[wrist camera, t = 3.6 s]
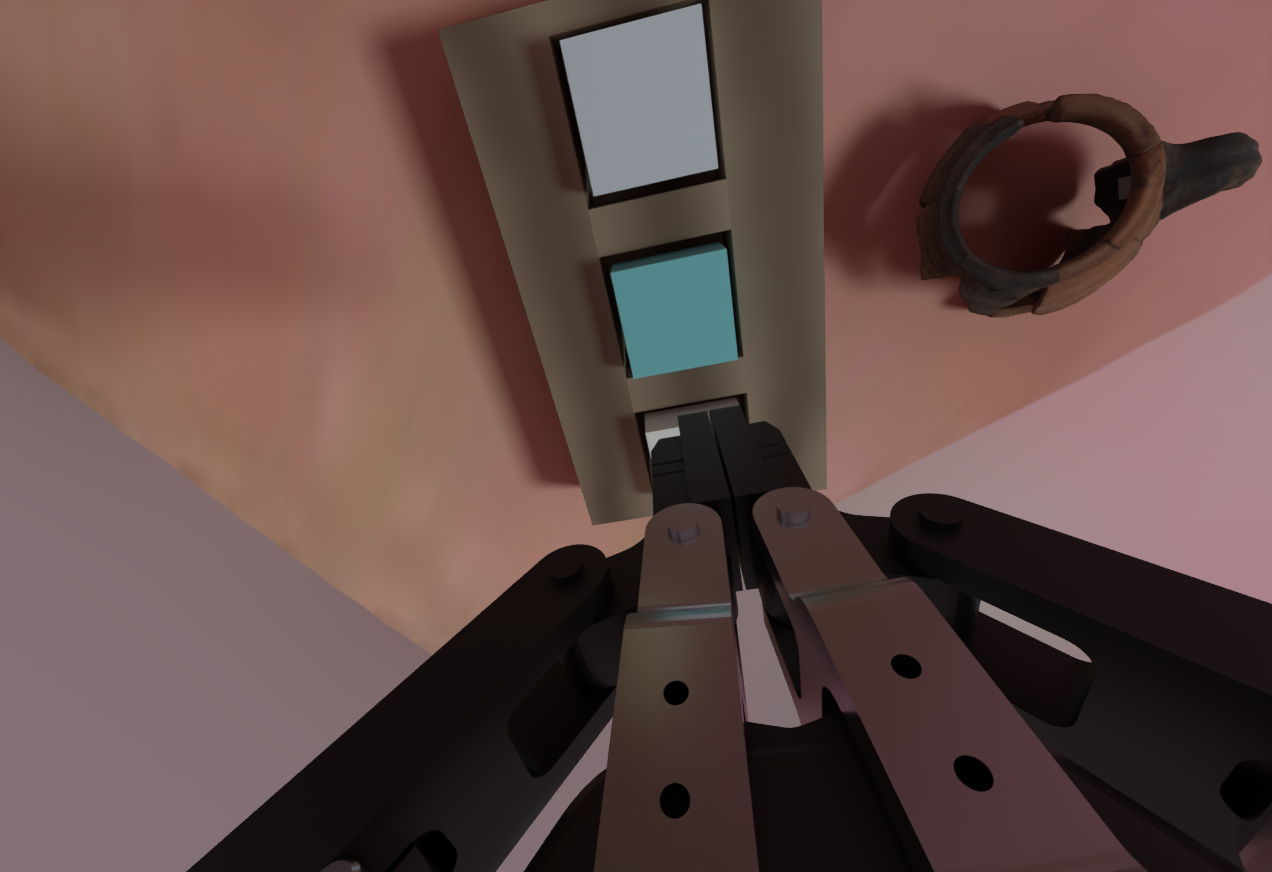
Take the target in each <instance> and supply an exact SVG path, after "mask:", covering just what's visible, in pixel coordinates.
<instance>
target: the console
mask: <svg viewBox="0 0 1272 872" xmlns="http://www.w3.org/2000/svg"><path fill="white" fill-rule="evenodd" d="M697 4H701V5H702V15H703V24H704V34H705V44H706V53H707V63H708V73H709V83H710V92H711V102H712V112H713V121H714V131H715V141H716V150H717V160H718V168H717V169H713V170H709V171H704V172H700V173H695V174H691V175H687V176H682V177H678V178H673V179H669V180H665V181H660V182H656V183H651V184H647V185H642V186H638V187H634V188H629V189H625V190H620V191H616V192H612V193H607V194H603V195H598V196H593V191H592V187H591V182H590V177H589V173H588V168H587V164H586V159H585V155H584V150H583V145H582V141H581V136H580V132H579V127H578V123H577V118H576V113H575V109H574V104H573V100H572V95H571V91H570V86H569V81H568V77H567V72H566V68H565V63H564V59H563V54H562V49H561V45H560V40H563V39H567V38H571V37H574V36H578V35H582V34H586V33H590V32H594V31H597V30H601V29H605V28H609V27H613V26H616V25H620V24H624V23H628V22H632V21H636V20H639V19H643V18H647V17H651V16H655V15H659V14H662V13H666V12H670V11H674V10H678V9H681V8H685V7H689V6H693V5H697ZM438 33H439V36H440V39H441V42H442V45H443V49H444V52H445V55H446V58H447V61H448V65H449V68H450V71H451V74H452V77H453V81H454V84H455V87H456V90H457V93H458V97H459V100H460V103H461V106H462V109H463V113H464V116H465V119H466V122H467V125H468V129H469V132H470V135H471V138H472V141H473V145H474V148H475V151H476V154H477V157H478V161H479V164H480V167H481V170H482V173H483V177H484V180H485V183H486V186H487V189H488V192H489V196H490V199H491V202H492V205H493V208H494V212H495V215H496V218H497V221H498V224H499V228H500V231H501V234H502V237H503V240H504V244H505V247H506V250H507V253H508V256H509V260H510V263H511V266H512V269H513V272H514V276H515V279H516V282H517V285H518V288H519V292H520V295H521V298H522V301H523V304H524V308H525V311H526V314H527V317H528V320H529V324H530V327H531V330H532V333H533V336H534V339H535V343H536V346H537V349H538V352H539V355H540V359H541V362H542V365H543V368H544V371H545V375H546V378H547V381H548V384H549V387H550V391H551V394H552V397H553V400H554V403H555V407H556V410H557V413H558V416H559V419H560V423H561V426H562V429H563V432H564V435H565V439H566V442H567V445H568V448H569V451H570V455H571V458H572V461H573V464H574V467H575V471H576V474H577V477H578V480H579V483H580V486H581V490H582V493H583V496H584V499H585V502H586V506H587V509H588V512H589V515H590V518H591V522H592V525H598V524H604V523H611V522H617V521H623V520H630V519H636V518H643V517H649V516H653V495H652V465H651V456H650V452H649V447H648V443H647V438H646V434H645V414H646V413H651V412H657V411H663V410H668V409H674V408H679V407H685V406H691V405H696V404H702V403H707V402H713V401H719V400H724V399H730V398H736V399H737V401H738V403H739V405H740V407H741V409H742V412H743V414H744V417H745V419H746V421H747V424H750V423H755V422H761V421H766V422H768V423H770V424H771V425H773V426H774V427H776V428H778V429H779V430H780V431H781V433H782V435H783V437H784V438H785V440H786V443H787V444H788V446H789V448H790V450H791V451H792V455H794V457H795V459H796V461H797V463H798V464H799V466H800V468H801V470H802V472H803V474H804V476H805V478H806V479H807V481H808V483H809V485H810V487H811V489H812V490H814V491H815V490H821V489H827V478H826V380H825V282H824V184H823V87H822V0H546V1H543V2H539V3H535V4H531V5H528V6H524V7H520V8H517V9H513V10H509V11H506V12H502V13H498V14H495V15H491V16H487V17H484V18H480V19H476V20H472V21H469V22H465V23H461V24H458V25H454V26H450V27H447V28H443V29H439V30H438ZM715 242H720V243H721V244H722V245H723V246H724V247H725V248H727V257H728V267H729V277H730V286H731V296H732V306H733V315H734V325H735V335H736V345H737V354H738V360H734V361H729V362H723V363H718V364H712V365H707V366H702V367H696V368H691V369H686V370H680V371H675V372H669V373H664V374H659V375H653V376H648V377H642V378H637V379H633V374H632V369H631V365H630V360H629V356H628V351H627V347H626V342H625V337H624V333H623V328H622V324H621V319H620V315H619V310H618V305H617V301H616V296H615V292H614V287H613V283H612V278H611V273H610V272H611V269H612V265H613V264H615V263H620V262H625V261H629V260H634V259H639V258H644V257H648V256H653V255H658V254H662V253H667V252H672V251H677V250H681V249H686V248H691V247H696V246H700V245H705V244H710V243H715Z"/></svg>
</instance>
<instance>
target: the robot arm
mask: <svg viewBox="0 0 1272 872" xmlns="http://www.w3.org/2000/svg"><path fill="white" fill-rule="evenodd" d="M709 416H710V420H709V417H708V413H707V411H702V412H696V413H690V414H685V415H679V416H677V417H678V424H679V431H680V436H674V437H668V438H662V439H659V440H658V442H657V443H656V445H655V446H654V448H653V449H652V451H651V465H652V495H653V517H652V518H651V519H650V521H649V522H648V524H647V526H646V530H645V537H644V538H643V539H642V540H641V541H640V542H639V543H637V544H636V545H634V546H633V547H631V548H629V549H627V550H625V551H623V552H620V553H618V554H615V555H613V556H610V557H608V558H606V557H605V555H604V554H603V553H602V552H601V551H600V550H599V549H597V548H595V547H593V546H590V545H581V544H577V545H570V546H566V547H563V548H560V549H557V550H555V551H553V552H551V553H550V554H548V555H547V556H545V557H544V558H543V559H541V560H540V561H539V562H538V563H537V564H536V565H535V566H534V567H532V568H531V569H530V570H529V571H528V572H527V573H526V574H524V575H523V576H522V577H521V578H520V579H519V580H518V581H516V582H515V583H514V584H513V585H512V586H511V587H510V588H508V589H507V590H506V591H505V592H504V593H503V594H502V595H501V596H499V597H498V598H497V599H496V600H495V601H494V602H493V603H491V604H490V605H489V606H488V607H487V608H486V609H485V610H483V611H482V612H481V613H480V614H479V615H478V616H477V617H475V618H474V619H473V620H472V621H471V622H470V623H469V624H468V625H466V626H465V627H464V628H463V629H462V630H461V631H460V632H458V633H457V634H456V635H455V636H454V637H453V638H452V639H450V640H449V641H448V642H447V643H446V644H445V645H444V646H442V647H441V648H440V649H439V650H438V651H437V652H436V653H435V654H433V655H432V656H431V657H430V658H429V659H428V660H427V661H425V663H423V664H422V665H421V666H420V667H419V668H418V669H416V670H415V671H414V672H413V673H412V674H411V675H410V676H408V677H407V678H406V679H405V680H404V681H403V682H402V683H400V684H399V685H398V686H397V687H396V688H395V689H394V690H393V691H391V692H390V693H389V694H388V695H387V696H386V697H384V698H383V699H382V700H381V701H380V702H379V703H378V704H377V705H375V706H374V707H373V708H372V709H371V710H370V711H369V712H367V713H366V714H365V715H364V716H363V717H362V718H361V719H359V720H358V721H357V722H356V723H355V724H354V725H353V726H352V727H351V728H349V729H348V730H347V731H346V732H345V733H344V734H342V735H341V736H340V737H339V738H338V739H337V740H336V741H334V742H333V743H332V744H331V745H330V746H329V747H328V748H327V749H325V750H324V751H323V752H322V753H321V754H320V755H318V756H317V757H316V758H315V759H314V760H313V761H312V762H311V763H309V764H308V765H307V766H306V767H305V768H304V769H303V770H302V771H300V772H299V773H298V774H297V775H296V776H295V777H293V778H292V779H291V780H290V781H289V782H288V783H287V784H285V785H284V786H283V787H282V788H281V789H280V790H279V791H278V792H276V793H275V794H274V795H273V796H272V797H271V798H270V799H268V800H267V801H266V802H265V803H264V804H263V805H262V806H260V807H259V808H258V809H257V810H256V811H255V812H254V813H252V814H251V815H250V816H249V817H248V818H247V819H246V820H245V821H243V822H242V823H241V824H240V825H239V826H238V827H237V828H235V829H234V830H233V831H232V832H231V833H230V834H229V835H227V836H226V837H225V838H224V839H223V840H222V841H221V842H219V843H218V844H217V845H216V846H215V847H214V848H213V849H212V850H210V851H209V852H208V853H207V854H206V855H205V856H204V857H202V858H201V859H200V860H199V861H198V862H197V863H196V864H194V865H193V866H192V867H191V868H190V869H189V870H188V871H186V872H496V871H497V869H498V868H499V867H500V865H501V864H502V863H503V861H504V860H505V858H506V857H507V856H508V854H509V853H510V852H511V851H512V849H513V848H514V847H515V845H516V844H517V843H518V841H519V840H520V839H521V837H522V836H523V835H524V833H525V832H526V831H527V829H528V828H529V826H530V825H531V824H532V823H533V821H534V820H535V819H536V818H537V816H538V815H539V814H540V812H541V811H542V810H543V808H544V807H545V806H546V804H547V803H548V802H549V800H550V799H551V798H552V796H553V795H554V794H555V792H556V791H557V790H558V788H559V787H560V786H561V784H562V783H563V782H564V780H565V779H566V778H567V776H568V775H569V774H570V772H571V771H572V770H573V768H574V767H575V766H576V765H577V763H578V762H579V760H580V759H581V758H582V757H583V755H584V754H585V753H586V751H587V750H588V749H589V747H590V746H591V745H592V743H593V742H594V741H595V739H596V738H597V737H598V735H599V734H600V733H601V731H602V730H603V729H604V727H605V726H606V725H607V723H608V722H609V721H610V719H611V718H612V717H613V721H612V728H611V736H610V744H609V753H608V761H607V768H606V769H605V770H604V771H602V772H601V773H600V774H598V775H597V776H596V777H595V778H594V779H593V780H592V781H591V782H590V783H589V784H588V785H586V786H585V787H584V788H583V790H582V791H581V792H580V793H579V794H578V795H577V797H576V798H575V799H574V800H573V801H572V802H571V804H570V805H569V806H568V808H567V809H566V810H565V812H564V813H563V815H562V816H561V818H560V819H559V820H558V822H557V823H556V825H555V826H554V828H553V829H552V831H551V832H550V834H549V835H548V836H547V838H546V839H545V841H544V843H543V844H542V845H541V847H540V848H539V850H538V851H537V853H536V854H535V856H534V857H533V859H532V860H531V862H530V863H529V865H528V866H527V868H526V869H525V871H524V872H1272V604H1270V603H1268V602H1265V601H1261V600H1259V599H1256V598H1253V597H1250V596H1247V595H1244V594H1241V593H1238V592H1235V591H1232V590H1229V589H1226V588H1223V587H1220V586H1217V585H1214V584H1212V583H1209V582H1205V581H1202V580H1200V579H1197V578H1194V577H1191V576H1188V575H1185V574H1182V573H1179V572H1176V571H1173V570H1170V569H1167V568H1164V567H1161V566H1158V565H1155V564H1152V563H1149V562H1147V561H1143V560H1141V559H1138V558H1135V557H1132V556H1129V555H1126V554H1123V553H1120V552H1117V551H1114V550H1111V549H1108V548H1105V547H1102V546H1099V545H1096V544H1093V543H1090V542H1087V541H1084V540H1082V539H1079V538H1076V537H1072V536H1070V535H1067V534H1063V533H1061V532H1058V531H1055V530H1052V529H1049V528H1046V527H1043V526H1040V525H1037V524H1034V523H1031V522H1028V521H1025V520H1022V519H1019V518H1016V517H1013V516H1011V515H1008V514H1005V513H1002V512H999V511H995V510H993V509H990V508H987V507H984V506H981V505H978V504H975V503H972V502H969V501H966V500H963V499H960V498H957V497H953V496H949V495H943V494H931V493H927V494H917V495H912V496H908V497H906V498H903V499H901V500H900V501H898V502H897V503H896V504H895V505H894V506H893V507H892V510H891V513H890V517H875V516H861V515H853V514H848V513H844V512H841V511H838V510H837V508H836V507H835V506H834V504H833V503H832V502H831V501H830V499H828V498H827V497H826V496H825V495H823V494H821V493H819V492H817V491H814V490H812V489H811V487H810V485H809V483H808V481H807V479H806V478H805V476H804V474H803V472H802V470H801V468H800V466H799V464H798V463H797V461H796V459H795V457H794V455H792V451H791V450H790V448H789V446H788V444H787V443H786V440H785V438H784V437H783V435H782V433H781V431H780V430H779V429H778V428H776V427H774V426H773V425H771V424H770V423H768V422H766V421H761V422H755V423H750V424H747V421H746V419H745V417H744V414H743V412H742V409H741V407H740V405H735V406H730V407H724V408H718V409H713V410H709ZM739 563H740V565H739ZM740 567H741V571H742V575H743V579H744V583H745V587H746V590H749V589H756V588H758V589H759V592H760V596H761V599H762V606H763V615H764V622H765V626H766V628H767V631H768V634H769V636H770V639H771V642H772V645H773V647H774V650H775V653H776V655H777V658H778V661H779V663H780V666H781V669H782V671H783V674H784V677H785V680H786V682H787V685H788V688H789V691H790V693H791V696H792V698H793V701H794V704H795V707H796V710H797V713H798V716H799V719H800V723H801V726H799V727H794V728H784V727H778V726H771V725H764V724H758V723H752V722H749V721H748V713H747V705H746V696H745V687H744V679H743V671H742V662H741V654H740V646H739V637H738V629H737V622H736V620H737V617H738V605H737V598H736V591H742V590H743V589H742V580H741V573H740ZM981 600H982V601H984V602H986V603H989V604H991V605H993V606H995V607H997V608H999V609H1001V610H1003V611H1006V612H1008V613H1010V614H1012V615H1014V616H1016V617H1018V618H1021V619H1023V620H1025V621H1027V622H1029V623H1031V624H1033V625H1035V626H1038V627H1040V628H1042V629H1044V630H1046V631H1048V632H1050V633H1052V634H1055V635H1057V636H1059V637H1061V638H1063V639H1065V640H1067V641H1069V642H1071V643H1072V644H1074V645H1076V646H1077V647H1078V648H1080V649H1081V650H1082V651H1083V652H1084V653H1085V654H1086V655H1087V656H1088V657H1089V658H1090V659H1091V661H1092V662H1086V661H1082V660H1079V659H1076V658H1074V657H1071V656H1070V655H1067V654H1066V653H1064V652H1062V651H1059V650H1057V649H1055V648H1053V647H1051V646H1049V645H1047V644H1045V643H1043V642H1041V641H1039V640H1037V639H1035V638H1033V637H1031V636H1028V635H1027V634H1024V633H1022V632H1020V631H1018V630H1016V629H1014V628H1012V627H1010V626H1008V625H1006V624H1004V623H1002V622H1000V621H998V620H996V619H993V618H991V617H989V616H987V615H985V614H983V613H981V612H979V606H980V601H981ZM1243 870H1244V871H1243Z"/></svg>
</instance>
